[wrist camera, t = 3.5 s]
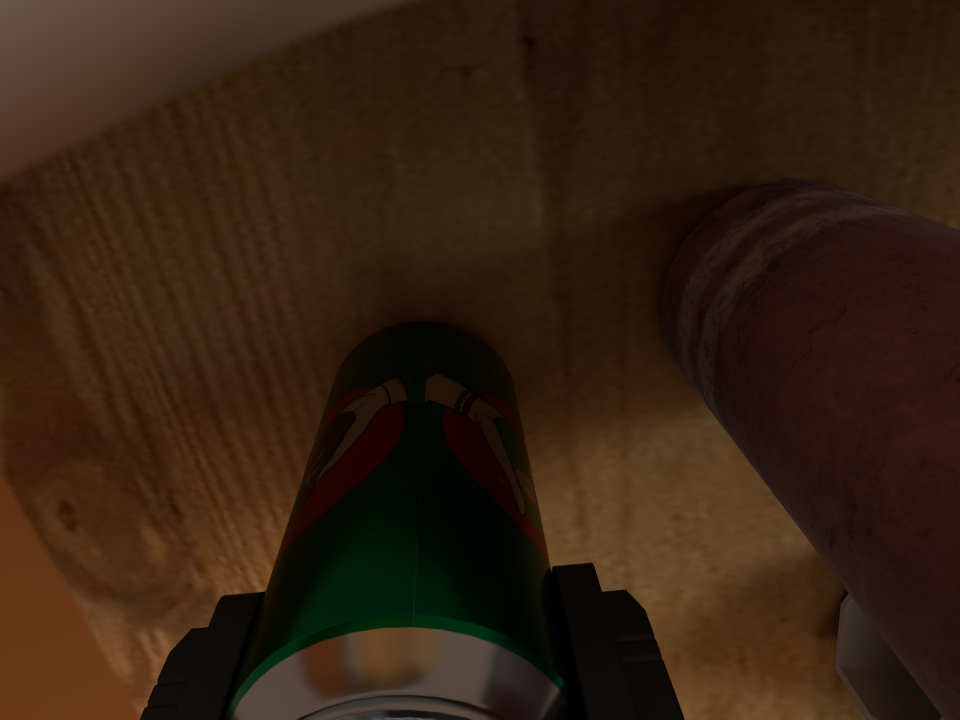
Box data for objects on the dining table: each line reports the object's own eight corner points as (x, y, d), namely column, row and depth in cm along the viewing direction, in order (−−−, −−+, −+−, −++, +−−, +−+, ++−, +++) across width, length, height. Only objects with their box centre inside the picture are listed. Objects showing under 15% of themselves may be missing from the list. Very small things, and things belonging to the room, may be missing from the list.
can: (929, 217, 18) (2051, 626, 6) (796, 417, 21) (1384, 1023, 8) (734, 124, 17) (1634, 392, 4) (615, 349, 19) (977, 951, 7)
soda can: (333, 468, 21) (210, 947, 10) (333, 306, 19) (177, 683, 8) (505, 476, 21) (570, 944, 10) (523, 318, 19) (630, 693, 8)
